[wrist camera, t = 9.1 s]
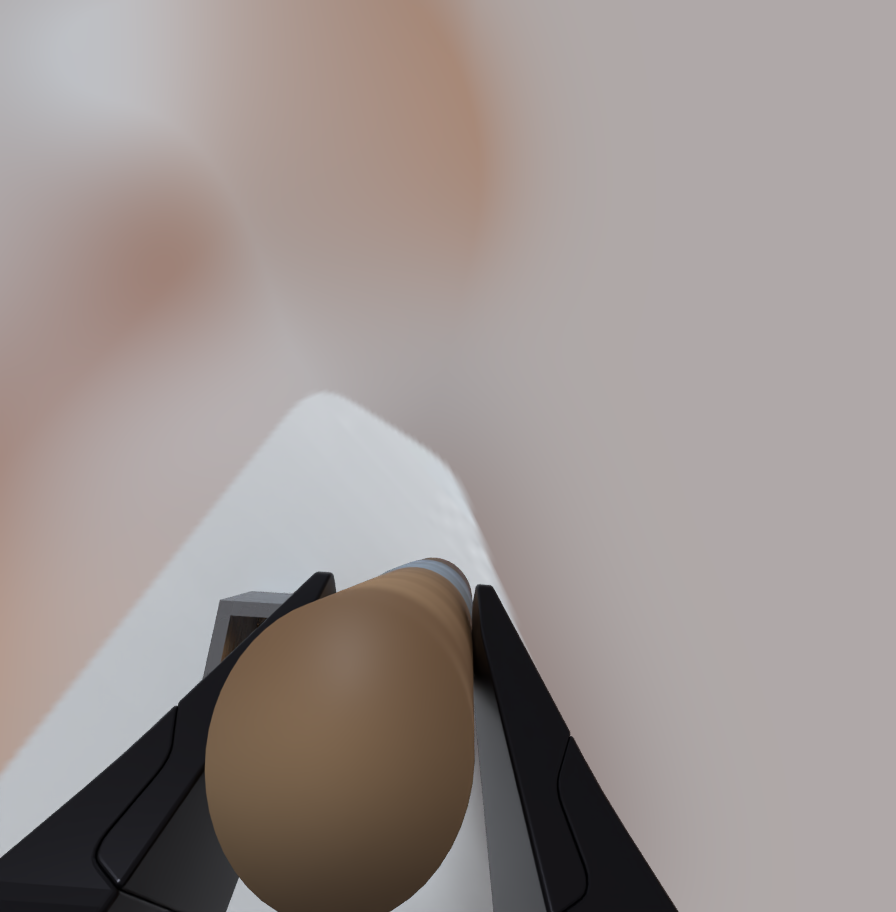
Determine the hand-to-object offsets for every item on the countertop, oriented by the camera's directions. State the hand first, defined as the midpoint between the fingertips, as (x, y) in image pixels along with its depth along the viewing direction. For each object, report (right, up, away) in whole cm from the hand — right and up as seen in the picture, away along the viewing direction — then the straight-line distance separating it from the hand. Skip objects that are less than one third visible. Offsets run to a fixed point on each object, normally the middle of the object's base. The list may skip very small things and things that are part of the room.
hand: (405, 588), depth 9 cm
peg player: (0, -3, +6) cm, 7 cm away
